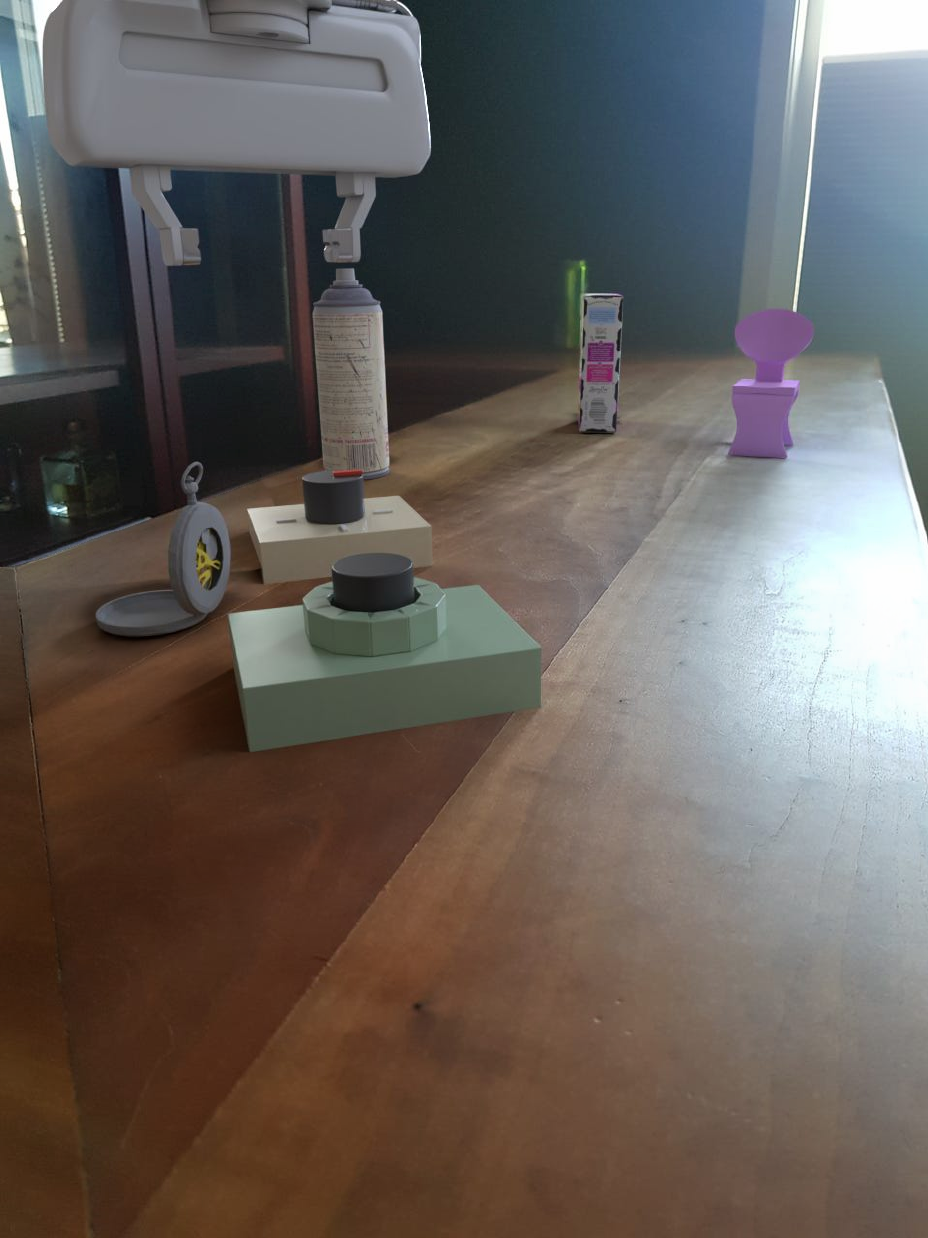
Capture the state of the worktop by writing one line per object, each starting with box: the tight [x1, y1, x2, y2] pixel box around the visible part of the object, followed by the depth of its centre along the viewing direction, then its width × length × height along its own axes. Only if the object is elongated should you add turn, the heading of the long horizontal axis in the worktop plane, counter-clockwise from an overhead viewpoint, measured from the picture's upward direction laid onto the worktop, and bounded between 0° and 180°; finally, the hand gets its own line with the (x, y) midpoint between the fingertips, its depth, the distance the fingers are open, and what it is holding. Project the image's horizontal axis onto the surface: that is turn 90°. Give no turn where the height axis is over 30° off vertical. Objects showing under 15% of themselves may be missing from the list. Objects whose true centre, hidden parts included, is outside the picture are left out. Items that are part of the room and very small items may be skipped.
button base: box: [227, 576, 543, 753], centre depth 48 cm, size 14×10×5 cm
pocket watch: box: [95, 461, 232, 638], centre depth 56 cm, size 8×8×10 cm
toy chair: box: [727, 308, 815, 459], centre depth 103 cm, size 8×9×15 cm
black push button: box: [331, 553, 415, 613], centre depth 47 cm, size 4×4×2 cm
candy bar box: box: [577, 292, 624, 434], centre depth 120 cm, size 11×5×16 cm, turn 174°
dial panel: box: [246, 495, 433, 585], centre depth 70 cm, size 12×10×3 cm
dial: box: [301, 469, 365, 524], centre depth 69 cm, size 4×4×3 cm
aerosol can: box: [312, 268, 391, 481], centre depth 95 cm, size 7×7×20 cm
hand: (266, 263), depth 52 cm, fingers open, 8 cm apart
